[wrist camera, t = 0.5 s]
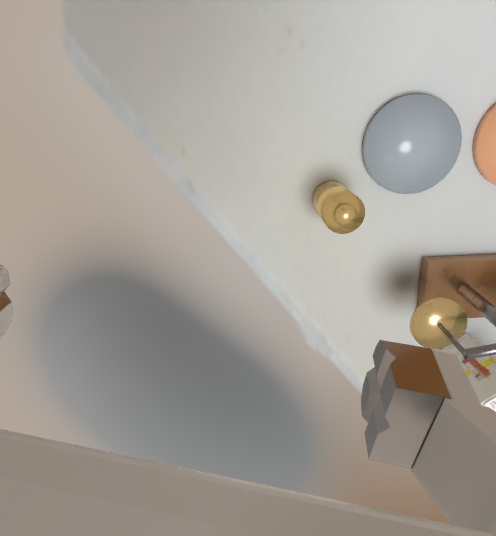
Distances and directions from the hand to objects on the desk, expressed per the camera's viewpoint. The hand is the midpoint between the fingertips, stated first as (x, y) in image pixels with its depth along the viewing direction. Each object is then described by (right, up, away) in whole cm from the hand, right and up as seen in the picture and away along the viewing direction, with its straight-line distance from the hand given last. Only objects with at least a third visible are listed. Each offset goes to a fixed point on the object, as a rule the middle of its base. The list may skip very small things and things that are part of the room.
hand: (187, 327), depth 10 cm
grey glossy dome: (+20, +16, +42) cm, 49 cm away
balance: (+29, -1, +49) cm, 57 cm away
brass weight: (+11, +10, +44) cm, 47 cm away
